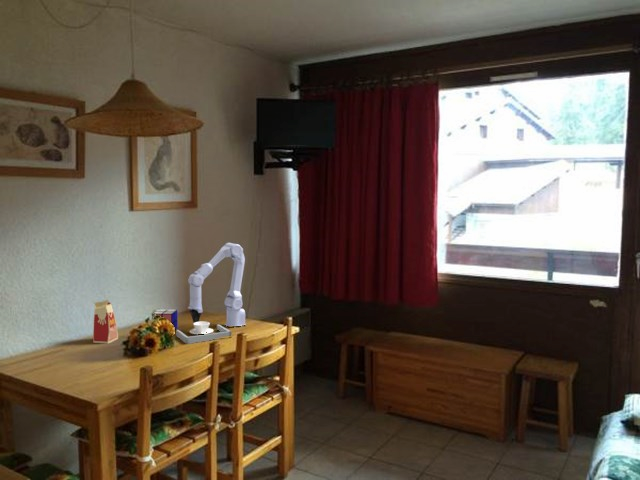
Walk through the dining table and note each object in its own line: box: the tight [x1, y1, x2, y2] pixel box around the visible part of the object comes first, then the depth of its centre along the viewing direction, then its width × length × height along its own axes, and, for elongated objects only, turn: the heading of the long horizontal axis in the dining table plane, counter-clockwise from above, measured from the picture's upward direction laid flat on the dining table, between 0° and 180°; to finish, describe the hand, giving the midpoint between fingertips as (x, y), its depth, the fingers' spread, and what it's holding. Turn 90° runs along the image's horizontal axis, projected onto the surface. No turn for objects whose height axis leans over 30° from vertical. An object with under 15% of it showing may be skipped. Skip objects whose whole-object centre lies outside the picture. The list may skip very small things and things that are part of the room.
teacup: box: [189, 320, 214, 335], centre depth 270 cm, size 12×12×5 cm
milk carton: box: [92, 299, 119, 345], centre depth 255 cm, size 9×9×20 cm
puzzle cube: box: [151, 308, 179, 330], centre depth 275 cm, size 10×10×10 cm
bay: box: [175, 324, 232, 345], centre depth 265 cm, size 22×16×3 cm
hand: (196, 324), depth 274 cm, fingers closed
